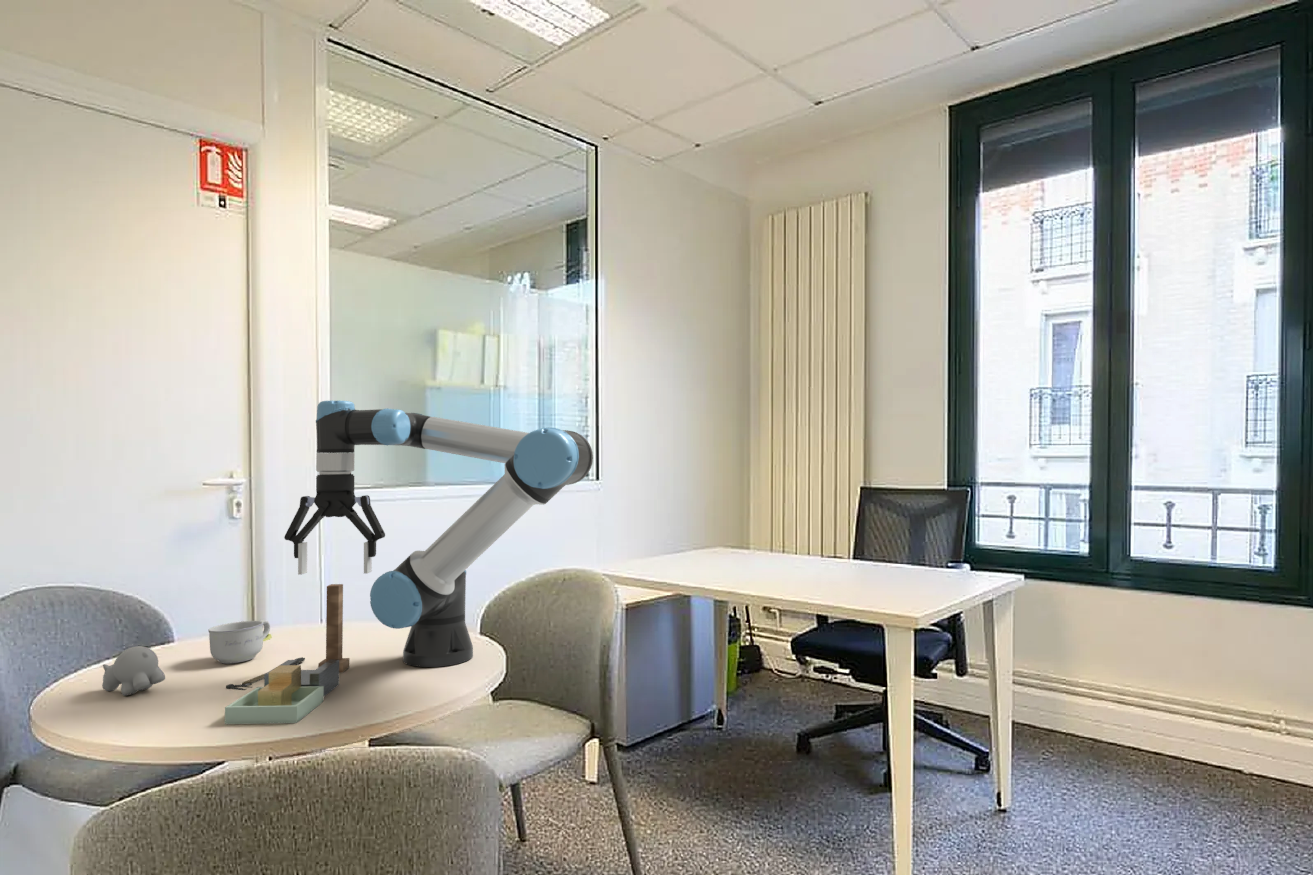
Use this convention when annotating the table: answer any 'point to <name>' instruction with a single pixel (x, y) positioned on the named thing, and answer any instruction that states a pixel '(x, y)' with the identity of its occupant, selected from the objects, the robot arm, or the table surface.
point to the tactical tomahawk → (254, 679)
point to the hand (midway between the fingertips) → (335, 573)
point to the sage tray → (274, 707)
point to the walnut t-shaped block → (335, 626)
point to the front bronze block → (275, 695)
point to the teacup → (237, 640)
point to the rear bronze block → (286, 675)
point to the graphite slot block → (316, 675)
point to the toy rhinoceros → (133, 671)
